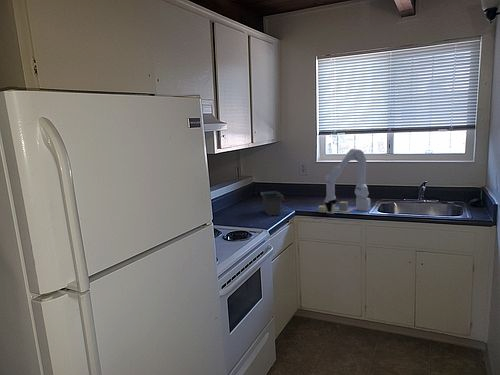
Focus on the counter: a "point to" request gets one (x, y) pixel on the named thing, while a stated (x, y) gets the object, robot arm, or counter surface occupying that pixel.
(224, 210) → the counter surface
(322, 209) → the block
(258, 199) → the counter surface
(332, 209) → the block
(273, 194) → the storage bin
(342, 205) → the din rail
